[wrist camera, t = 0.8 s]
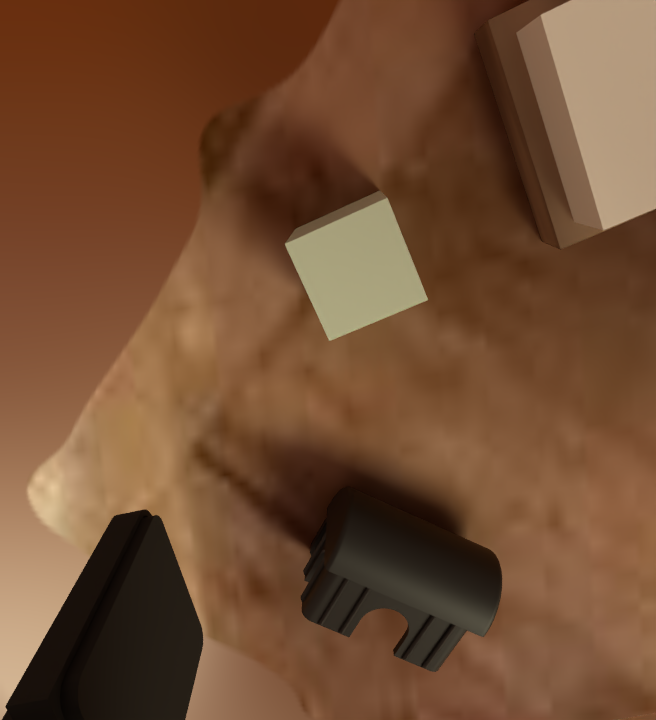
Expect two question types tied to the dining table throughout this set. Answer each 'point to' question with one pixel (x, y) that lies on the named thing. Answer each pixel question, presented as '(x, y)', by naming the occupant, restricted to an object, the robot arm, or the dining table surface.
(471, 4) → the dining table surface
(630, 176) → the white slab
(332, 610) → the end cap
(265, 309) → the dining table surface
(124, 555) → the robot arm
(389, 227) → the green block
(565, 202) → the walnut slab
